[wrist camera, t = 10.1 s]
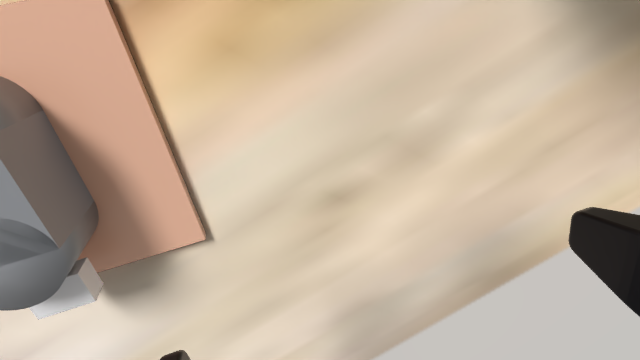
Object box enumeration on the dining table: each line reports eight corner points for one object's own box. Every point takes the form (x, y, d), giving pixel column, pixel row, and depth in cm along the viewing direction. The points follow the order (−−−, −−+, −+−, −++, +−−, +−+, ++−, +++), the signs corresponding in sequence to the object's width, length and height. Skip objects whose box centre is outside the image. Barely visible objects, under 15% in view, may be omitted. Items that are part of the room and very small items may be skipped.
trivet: (102, -13, 14) (98, -15, 13) (205, 233, 19) (205, 239, 19) (-254, 58, 12) (-276, 60, 12) (-35, 307, 18) (-43, 315, 17)
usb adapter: (-100, 86, 13) (-218, 108, 10) (15, 60, 14) (-57, 72, 10) (45, 286, 18) (0, 352, 14) (127, 260, 18) (105, 318, 15)
